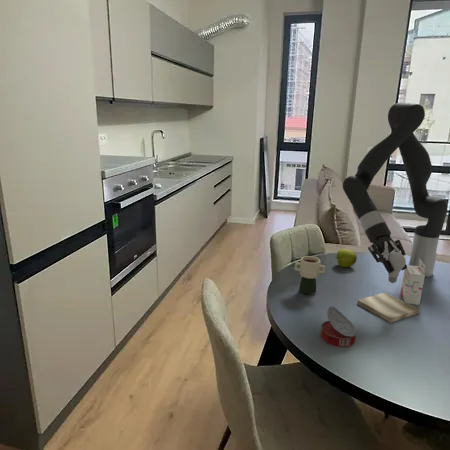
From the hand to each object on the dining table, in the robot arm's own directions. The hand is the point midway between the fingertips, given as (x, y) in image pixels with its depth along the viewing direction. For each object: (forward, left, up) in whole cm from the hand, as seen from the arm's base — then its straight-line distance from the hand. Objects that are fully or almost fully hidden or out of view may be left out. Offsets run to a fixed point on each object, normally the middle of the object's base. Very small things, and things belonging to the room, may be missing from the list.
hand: (398, 270), depth 126 cm
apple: (-15, -37, -15) cm, 42 cm away
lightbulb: (0, -2, -5) cm, 6 cm away
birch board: (0, -2, -15) cm, 15 cm away
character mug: (+17, -24, -15) cm, 33 cm away
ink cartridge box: (-14, -3, -15) cm, 21 cm away
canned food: (+29, +4, -15) cm, 33 cm away
